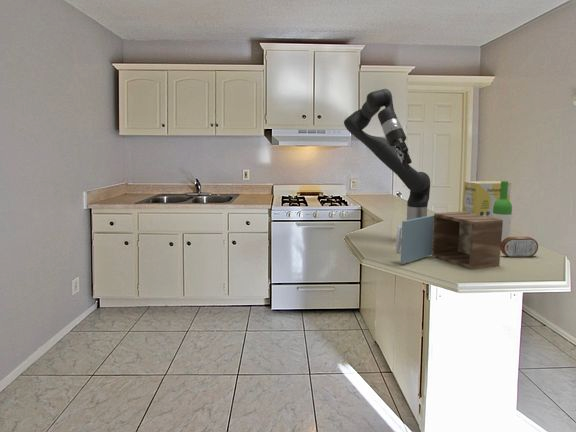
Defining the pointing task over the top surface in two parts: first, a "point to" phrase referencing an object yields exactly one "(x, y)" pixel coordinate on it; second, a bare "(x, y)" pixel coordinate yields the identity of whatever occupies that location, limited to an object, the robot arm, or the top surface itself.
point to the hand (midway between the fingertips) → (408, 166)
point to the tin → (519, 246)
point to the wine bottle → (503, 210)
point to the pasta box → (482, 197)
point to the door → (415, 238)
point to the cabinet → (467, 239)
